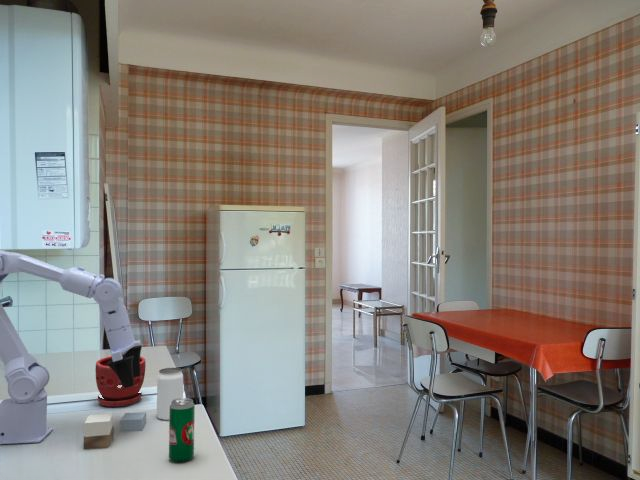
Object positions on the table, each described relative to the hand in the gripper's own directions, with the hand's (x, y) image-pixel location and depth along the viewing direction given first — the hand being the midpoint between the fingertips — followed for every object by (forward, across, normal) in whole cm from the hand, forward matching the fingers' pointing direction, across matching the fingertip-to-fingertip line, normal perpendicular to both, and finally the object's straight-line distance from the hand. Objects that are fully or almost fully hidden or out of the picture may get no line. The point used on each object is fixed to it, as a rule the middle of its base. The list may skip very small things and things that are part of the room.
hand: (132, 381), depth 119 cm
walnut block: (+10, -9, +8) cm, 15 cm away
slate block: (+11, 0, +3) cm, 12 cm away
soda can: (+14, -19, -10) cm, 26 cm away
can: (+13, +7, -4) cm, 16 cm away
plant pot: (+10, +21, +10) cm, 25 cm away
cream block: (+7, -9, +7) cm, 13 cm away
